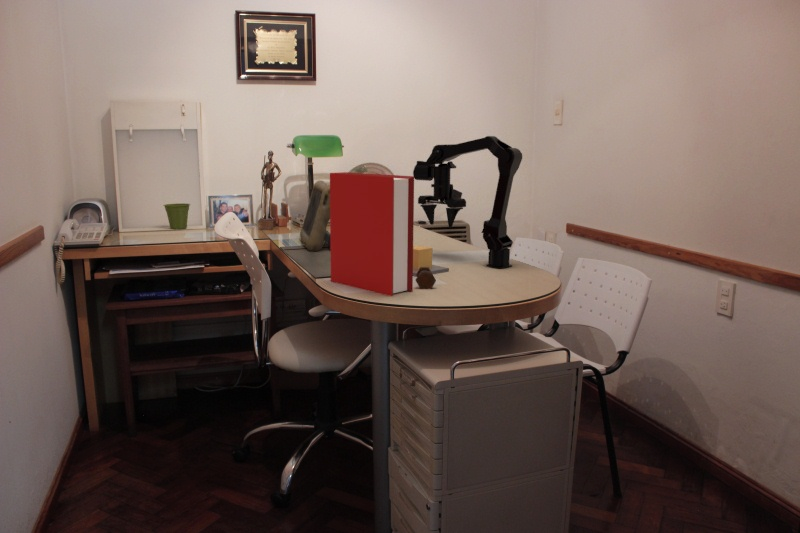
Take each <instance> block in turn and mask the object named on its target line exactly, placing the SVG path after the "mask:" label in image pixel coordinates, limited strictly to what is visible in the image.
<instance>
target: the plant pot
mask: <svg viewBox="0 0 800 533" xmlns="http://www.w3.org/2000/svg"><path fill="white" fill-rule="evenodd" d="M163 206H164V209H165V212H166V215H167V216H166V217H167V219H168V223H169V228H170V229H171V230H173V229H174V230H183V229H187V227H188V218H189V217H188V216H189V211H190V206H191V203H168V204H163Z"/></svg>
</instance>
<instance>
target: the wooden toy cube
mask: <svg viewBox="0 0 800 533" xmlns="http://www.w3.org/2000/svg"><path fill="white" fill-rule="evenodd" d="M432 265H433V247H428V246H424V245H415V246H414V245H413V269H415V270H419V268H420V267H429V268H432Z"/></svg>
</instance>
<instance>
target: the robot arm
mask: <svg viewBox="0 0 800 533" xmlns="http://www.w3.org/2000/svg"><path fill="white" fill-rule="evenodd" d="M431 150H432V151H431V154H430V155H429V156H428V158H427V160H426V161H423V160H417V161H416V164H415V165H414V168H413V170H412V176H414V180H415V181H428V182H430V181H433V183H431V186H430V187H431V188H433V195H430V194H429V195H428V194H427V195H419V197H418V198H417V204H418V205H420V207H422V209H423V211H424V213H425V215H426V217H427V219H428V221H429V224H430V225H434V223H435V209H436V207H437V206H438V204H439V205H440V204H441V205H446V206H447V207H445V212H446V217H447V225H448V227H449V228H452V227H453V225H454V222H455V220H456V216H457V215H458V213H459V211H461V210H463V209H464V208H466V207H467V200H466V199H465V198H463V197H462V196H463V192H461V191H459V190H457V189H454V185H453V184H452V183H451V169H457V165H455V164H454V163H453V161H451V160H455V159H456V158H458V157H460V156H463V155H467V154H471V153H475V152H481V151H484V150H488V151H489V152H490V153H491V154H492V156H494V157H495V158H497V169H498V174H499V176H498V181H497V185H496V186H497V187H496V190H495V195H494V202H493V206H492V207H493V208H492V211H491V216H490V218H489V219H488V220H484V221H483V227H482V231H481V234H482V239H483V240H484V242H485V243H486V247H487V249H488V250H489V251H488V260H487V262H488V263H486V264H485V266H486V267H490V268H496V269H505V268H511V267H513V265H512V264H510V255H511V254H510V253H511V252H510V250H511V249H510V248H512V247H513V244H514V242H513V240H512V239H511V238H510V236H509V235H508V233H507V232H508V231H507V230H508V225H507V221H506V220H507V219H506V217H507V216H506V215H507V211H508V205H509V200H510V197H511V196H510V195H511V190H512V185H513V181H514V176H515V175H516V173H517V172H518V169H520V166H521V163H522V161H523V153H522V152H521V150H520V149H518V148H517V147H512V146H511V145H510V144H507V143H505V142H504V141H502V140H501V139H499V138H498V137H497V136H495V135H487V136H485V137H482V138H477V139H473V140H468V141H464V142H459V143H456V144H455V143H454V144H453V143H452V144H436V145H435V146H433V148H432V149H431ZM445 162H447V163H445Z"/></svg>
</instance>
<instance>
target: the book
mask: <svg viewBox="0 0 800 533" xmlns="http://www.w3.org/2000/svg"><path fill="white" fill-rule="evenodd" d="M329 185H330V219H329V221H330V224H329V225H330V226H329V227H330V232H329V233H330V239H331V249H330V281H331V283H336V284H341V285H344V286H348V287H352V288H355V289H356V288H357V289H360V290H366V291H368V290H369V291H368V292H374V293H378V294H382V295H385V296H389V297H393V295H394V294H397V293H402V292H404V291H409V292H413V285H414V284H413V283H414V282H413V281H414V280H413V279H414V278H413V277H414V276H413V246H414V225H415V224H414V222H415V221H414V218H415V217H414V216H415V214H414V212H415V211H414V210H415V209H414V207H415V206H414V205H415V178H414V176H413V175H412V176H411V175H399V174H398V175H397V174H396V175H395V174H383V173H382V174H381V173H366V172H364V173H363V172H348V171H347V172H346V171H344V172H329Z"/></svg>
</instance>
